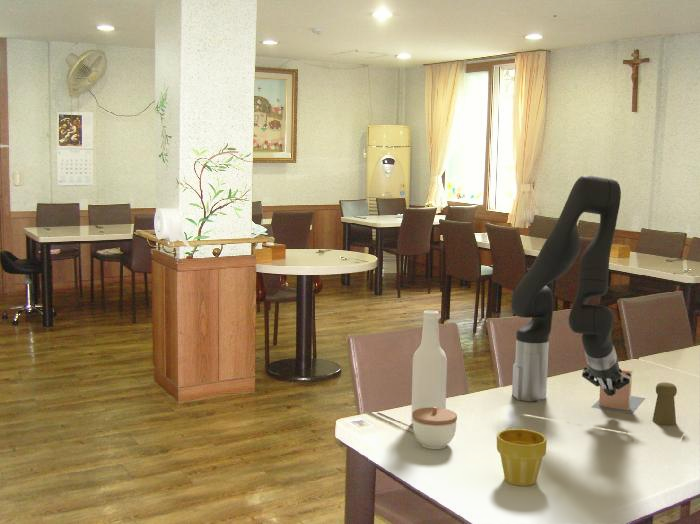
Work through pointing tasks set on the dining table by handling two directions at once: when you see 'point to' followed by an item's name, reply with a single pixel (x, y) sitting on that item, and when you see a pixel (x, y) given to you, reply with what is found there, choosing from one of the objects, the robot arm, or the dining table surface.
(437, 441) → the lidded jar
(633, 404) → the mat
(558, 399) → the dining table surface
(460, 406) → the dining table surface
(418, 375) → the alcohol
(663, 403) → the pepper mill
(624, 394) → the tile
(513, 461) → the plant pot
